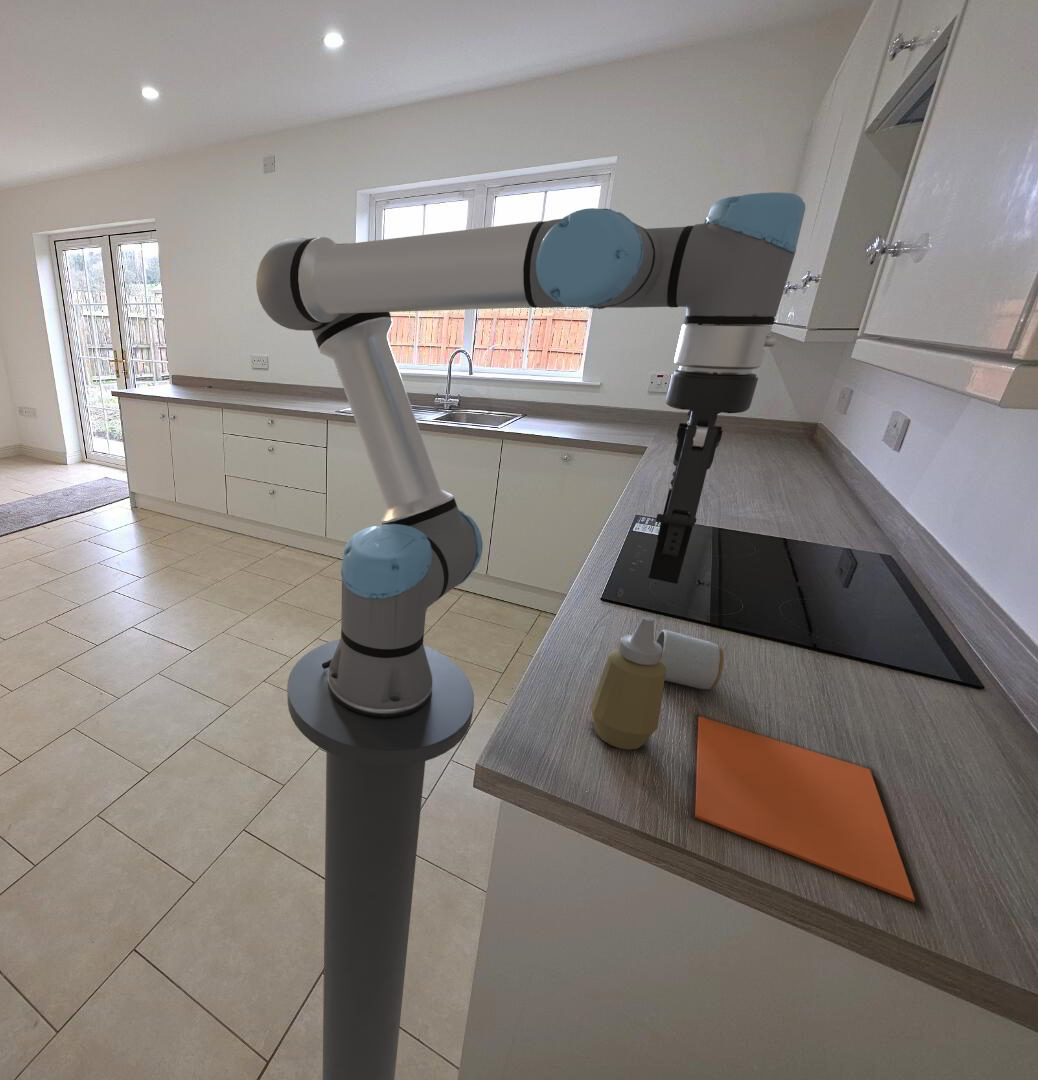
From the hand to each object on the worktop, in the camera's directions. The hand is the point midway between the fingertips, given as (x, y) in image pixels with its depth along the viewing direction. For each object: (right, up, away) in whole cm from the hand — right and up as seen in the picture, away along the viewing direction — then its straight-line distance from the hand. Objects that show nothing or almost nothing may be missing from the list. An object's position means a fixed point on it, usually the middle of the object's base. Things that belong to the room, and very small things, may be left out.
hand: (666, 558), depth 66 cm
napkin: (+15, -28, +1) cm, 32 cm away
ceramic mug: (+16, -19, +22) cm, 33 cm away
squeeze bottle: (0, -24, +10) cm, 26 cm away
